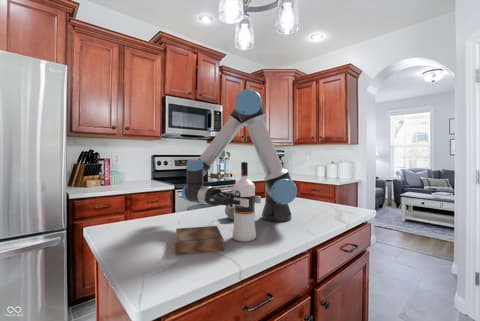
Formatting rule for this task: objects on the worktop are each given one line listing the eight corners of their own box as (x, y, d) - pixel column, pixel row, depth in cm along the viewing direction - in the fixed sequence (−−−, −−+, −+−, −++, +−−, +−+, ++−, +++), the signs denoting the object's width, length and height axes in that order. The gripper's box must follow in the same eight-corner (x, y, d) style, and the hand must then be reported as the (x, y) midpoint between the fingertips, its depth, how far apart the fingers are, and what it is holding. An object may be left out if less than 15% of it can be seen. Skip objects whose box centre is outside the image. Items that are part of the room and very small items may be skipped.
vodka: (261, 239, 95) (261, 162, 94) (241, 244, 89) (241, 162, 89) (246, 233, 102) (246, 161, 102) (228, 237, 97) (227, 161, 96)
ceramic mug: (228, 221, 120) (228, 206, 120) (224, 217, 128) (224, 202, 128) (248, 220, 123) (248, 205, 123) (243, 216, 131) (244, 202, 131)
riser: (216, 235, 99) (216, 225, 99) (223, 250, 84) (223, 238, 84) (176, 238, 96) (176, 228, 95) (175, 255, 80) (175, 242, 80)
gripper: (225, 200, 115) (268, 206, 101) (192, 208, 98) (238, 217, 84) (225, 184, 114) (268, 188, 101) (192, 190, 98) (238, 195, 84)
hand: (254, 201), depth 93 cm, fingers closed on vodka, 8 cm apart
